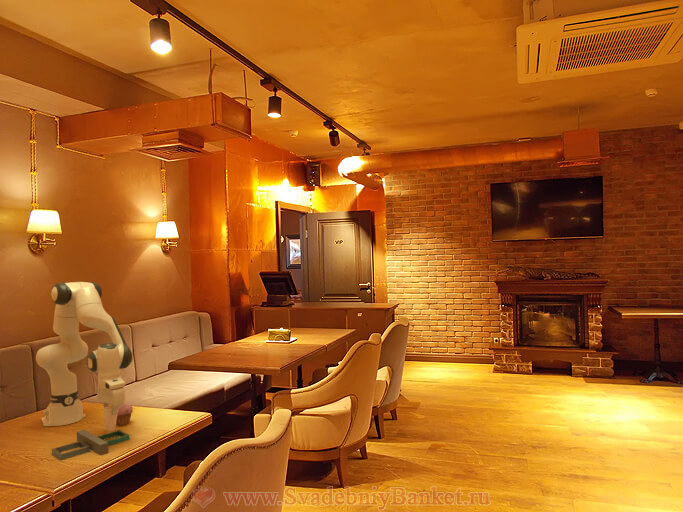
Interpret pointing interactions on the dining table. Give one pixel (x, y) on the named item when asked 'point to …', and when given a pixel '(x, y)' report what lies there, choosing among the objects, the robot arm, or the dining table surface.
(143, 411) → the dining table surface
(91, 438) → the door edge
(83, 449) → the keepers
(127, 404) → the cupcake
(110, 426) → the smoothie
